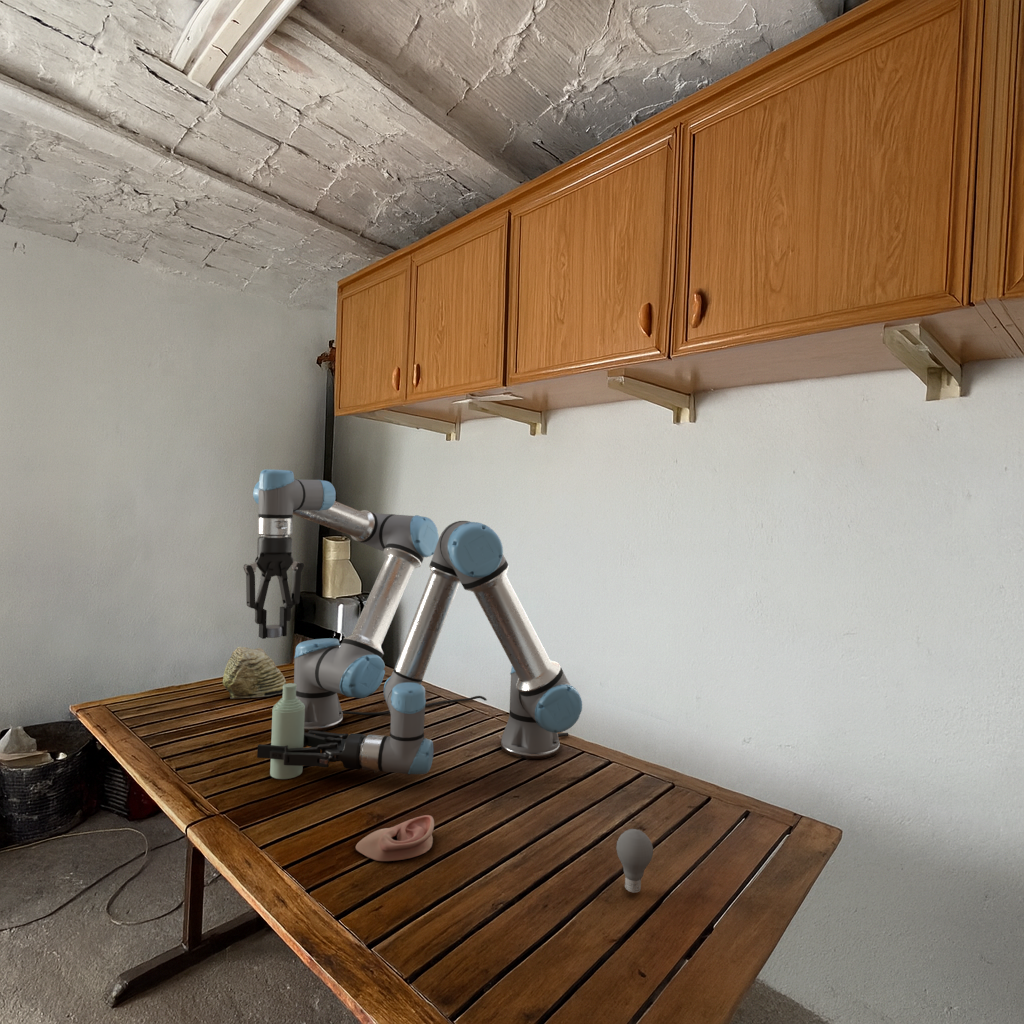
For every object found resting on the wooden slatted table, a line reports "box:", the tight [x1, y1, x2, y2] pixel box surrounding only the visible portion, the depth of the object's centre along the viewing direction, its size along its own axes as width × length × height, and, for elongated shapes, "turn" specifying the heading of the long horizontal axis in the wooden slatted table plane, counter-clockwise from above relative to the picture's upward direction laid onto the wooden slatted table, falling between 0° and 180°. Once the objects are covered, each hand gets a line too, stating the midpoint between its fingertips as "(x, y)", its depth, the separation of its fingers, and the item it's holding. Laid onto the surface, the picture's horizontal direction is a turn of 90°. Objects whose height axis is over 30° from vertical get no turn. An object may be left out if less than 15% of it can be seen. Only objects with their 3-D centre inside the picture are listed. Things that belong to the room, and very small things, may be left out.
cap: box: [266, 624, 283, 639], centre depth 147 cm, size 4×4×2 cm
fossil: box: [222, 646, 287, 699], centre depth 198 cm, size 9×18×15 cm, turn 132°
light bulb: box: [615, 828, 654, 894], centre depth 106 cm, size 6×6×10 cm
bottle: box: [269, 682, 305, 780], centre depth 144 cm, size 7×7×20 cm
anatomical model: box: [355, 814, 435, 862], centre depth 116 cm, size 13×4×12 cm
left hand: (272, 636), depth 148 cm, fingers closed on cap, 4 cm apart
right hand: (266, 744), depth 145 cm, fingers closed on bottle, 7 cm apart
